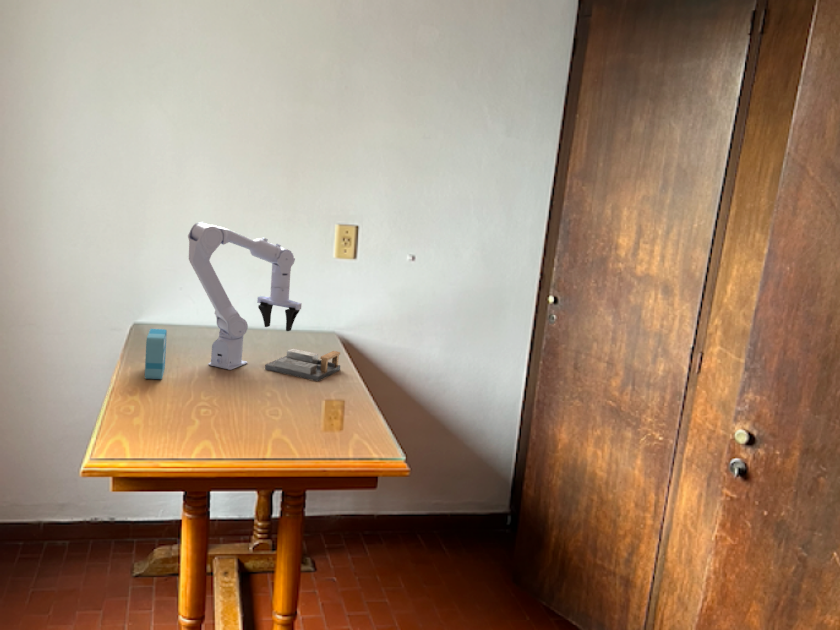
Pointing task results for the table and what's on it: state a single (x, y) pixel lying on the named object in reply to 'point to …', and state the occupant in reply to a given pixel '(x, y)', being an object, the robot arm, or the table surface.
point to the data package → (155, 353)
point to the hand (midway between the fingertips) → (277, 328)
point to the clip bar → (302, 356)
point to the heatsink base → (307, 367)
